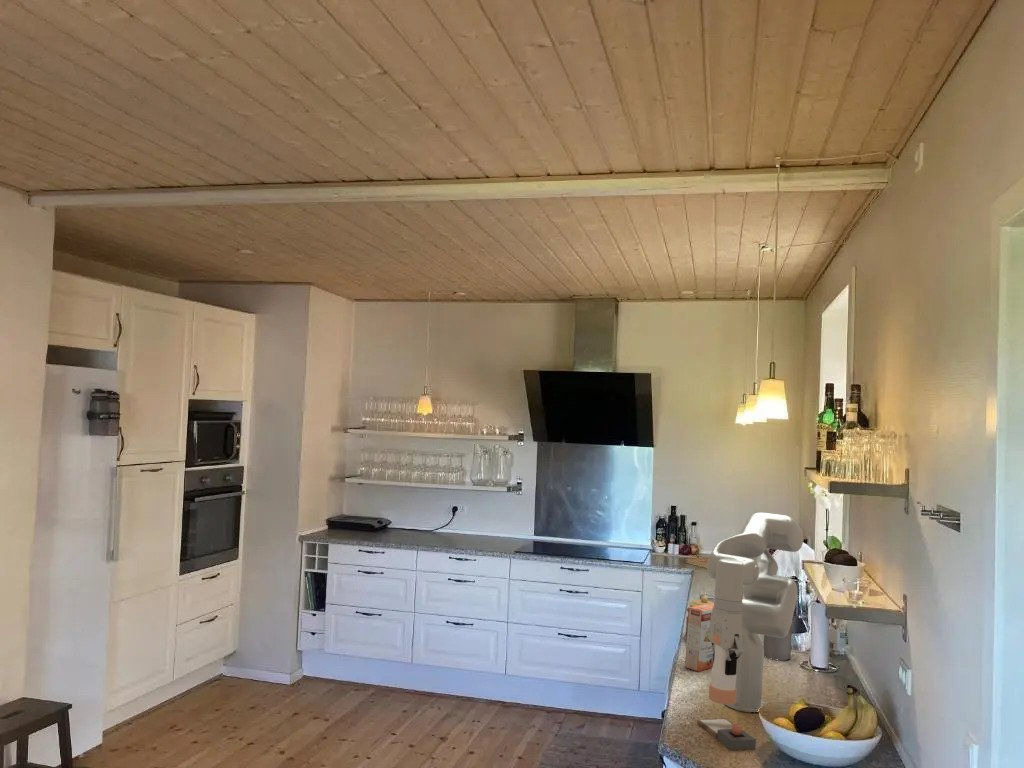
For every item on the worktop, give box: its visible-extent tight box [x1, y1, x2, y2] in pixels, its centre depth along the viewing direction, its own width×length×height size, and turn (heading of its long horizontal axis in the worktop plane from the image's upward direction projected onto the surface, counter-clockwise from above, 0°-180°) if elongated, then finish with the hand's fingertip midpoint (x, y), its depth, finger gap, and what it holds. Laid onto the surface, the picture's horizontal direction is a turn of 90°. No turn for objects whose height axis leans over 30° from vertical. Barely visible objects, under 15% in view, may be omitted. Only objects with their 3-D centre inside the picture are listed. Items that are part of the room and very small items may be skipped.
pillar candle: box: [763, 621, 793, 661], centre depth 286 cm, size 10×10×15 cm
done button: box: [732, 723, 743, 735], centre depth 204 cm, size 3×3×2 cm
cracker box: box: [684, 603, 714, 672], centre depth 268 cm, size 14×6×21 cm, turn 131°
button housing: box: [716, 729, 757, 751], centre depth 203 cm, size 7×7×2 cm
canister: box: [684, 595, 714, 642], centre depth 299 cm, size 13×13×18 cm
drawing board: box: [696, 717, 734, 739], centre depth 212 cm, size 10×9×1 cm
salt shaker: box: [708, 634, 737, 705], centre depth 213 cm, size 7×7×19 cm
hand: (724, 670), depth 213 cm, fingers closed on salt shaker, 5 cm apart
